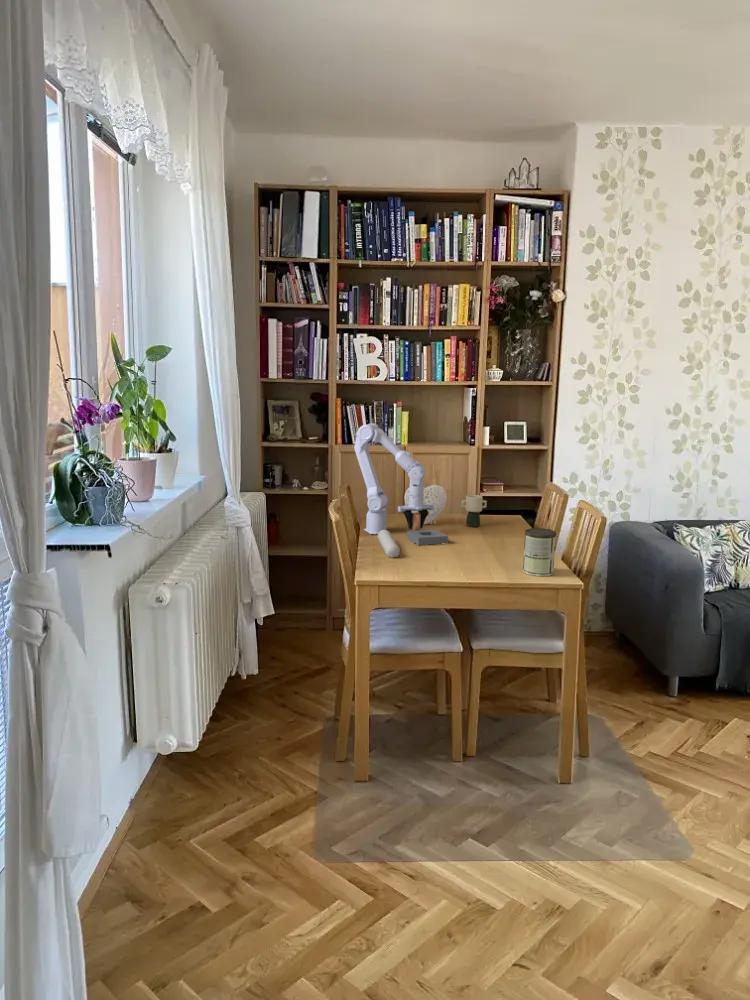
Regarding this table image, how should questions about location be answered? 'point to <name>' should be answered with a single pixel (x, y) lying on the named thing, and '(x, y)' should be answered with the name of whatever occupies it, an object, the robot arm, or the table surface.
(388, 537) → the tube
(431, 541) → the socket board
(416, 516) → the peg
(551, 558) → the coffee can
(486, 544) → the table surface
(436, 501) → the decorative heart
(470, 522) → the beige and green trophy
